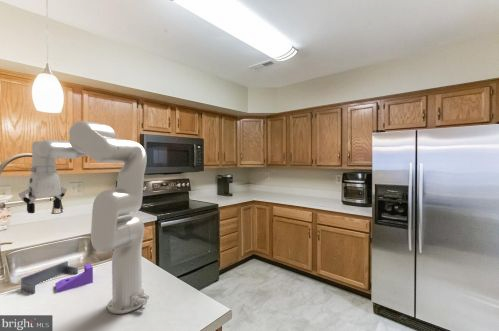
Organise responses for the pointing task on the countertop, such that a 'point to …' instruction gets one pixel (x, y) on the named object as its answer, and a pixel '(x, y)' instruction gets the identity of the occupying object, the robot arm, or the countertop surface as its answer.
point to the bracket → (76, 280)
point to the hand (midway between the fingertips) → (44, 210)
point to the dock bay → (45, 276)
